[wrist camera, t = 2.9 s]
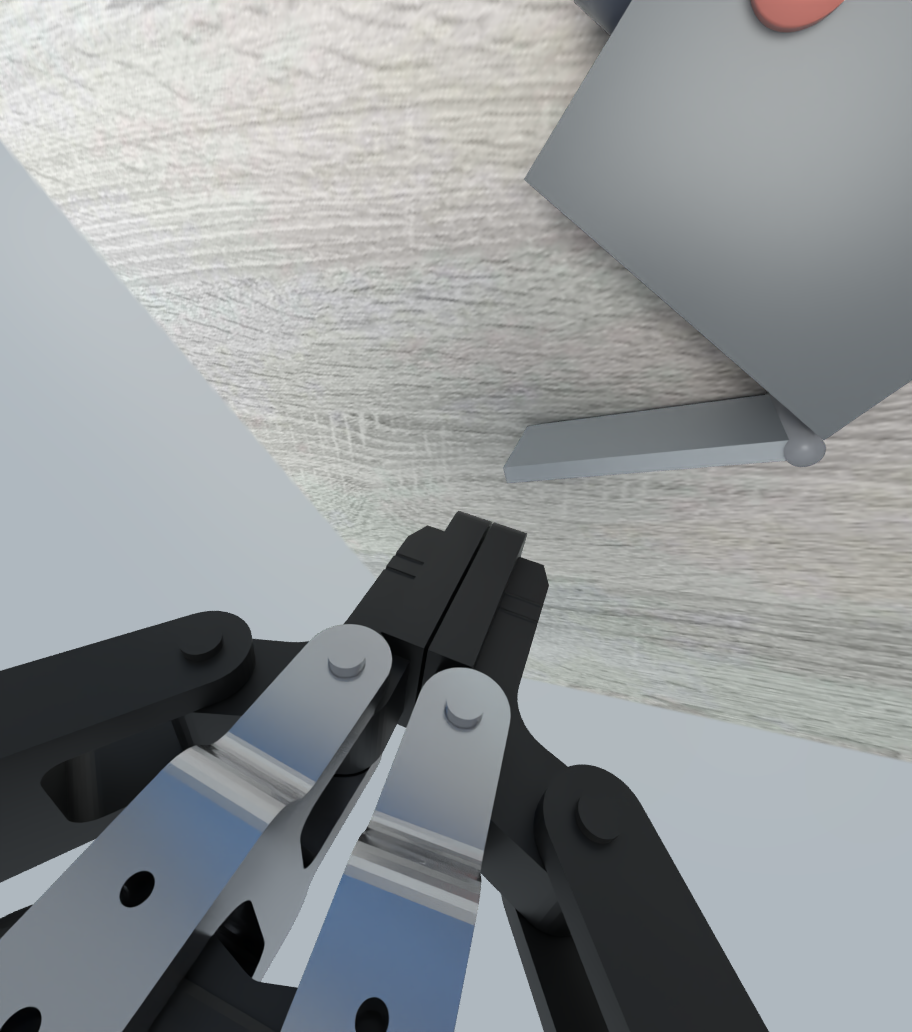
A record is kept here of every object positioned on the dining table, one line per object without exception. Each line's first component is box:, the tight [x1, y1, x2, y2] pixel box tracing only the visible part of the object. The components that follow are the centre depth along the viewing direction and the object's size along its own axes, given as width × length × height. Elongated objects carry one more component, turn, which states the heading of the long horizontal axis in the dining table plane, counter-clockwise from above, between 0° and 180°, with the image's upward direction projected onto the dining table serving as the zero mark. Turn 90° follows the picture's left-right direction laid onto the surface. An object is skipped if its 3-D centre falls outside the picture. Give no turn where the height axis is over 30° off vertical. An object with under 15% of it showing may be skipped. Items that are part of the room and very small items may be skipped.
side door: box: [503, 392, 826, 483], centre depth 22 cm, size 12×1×5 cm, turn 106°
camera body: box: [524, 0, 912, 440], centre depth 15 cm, size 15×10×7 cm
